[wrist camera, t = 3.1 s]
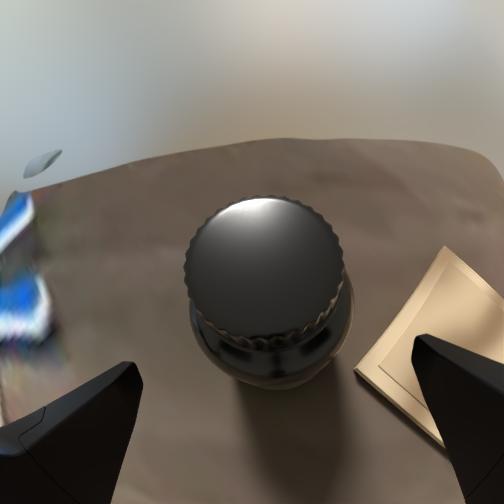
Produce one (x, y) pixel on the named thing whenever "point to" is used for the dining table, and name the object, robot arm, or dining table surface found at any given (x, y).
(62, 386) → the dining table surface
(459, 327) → the coaster
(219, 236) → the supplement bottle
